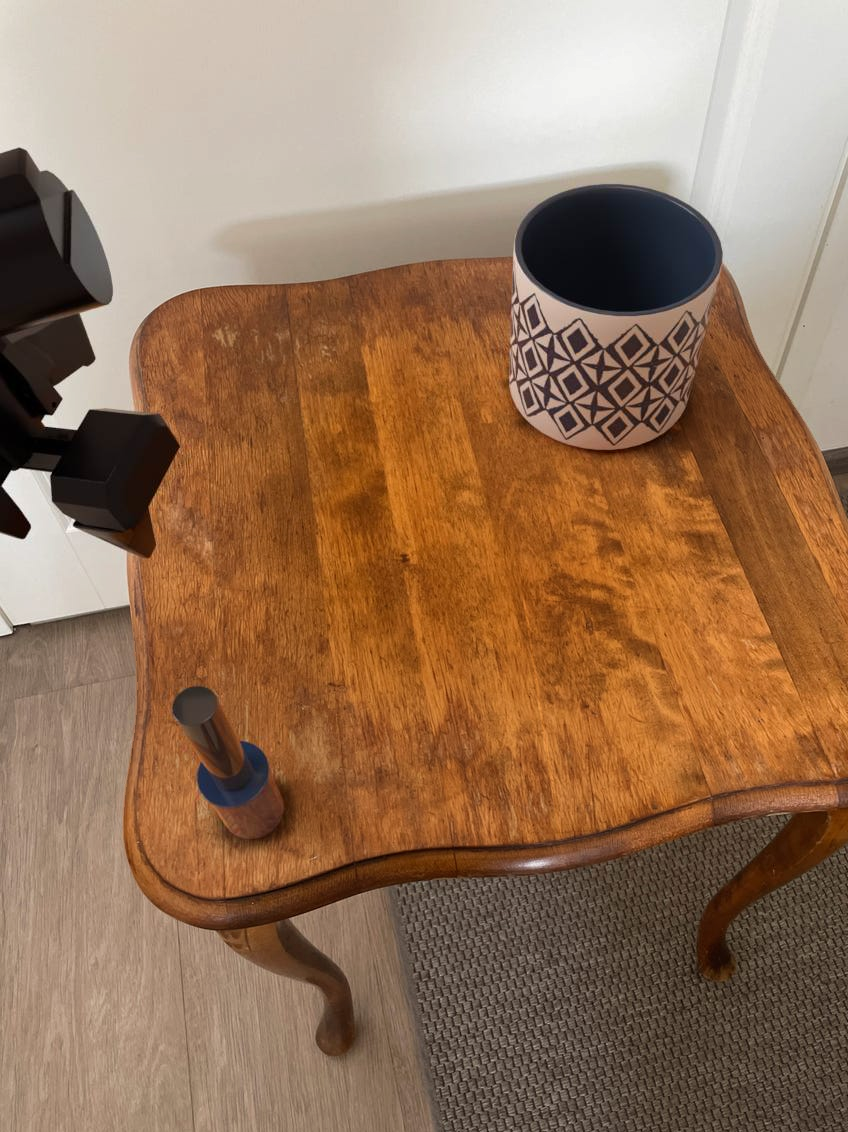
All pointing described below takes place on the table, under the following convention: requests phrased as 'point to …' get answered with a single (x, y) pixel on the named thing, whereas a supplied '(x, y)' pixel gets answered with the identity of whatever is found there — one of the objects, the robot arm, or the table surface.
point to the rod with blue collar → (220, 751)
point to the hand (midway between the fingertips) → (87, 542)
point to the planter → (609, 313)
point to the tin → (255, 814)
